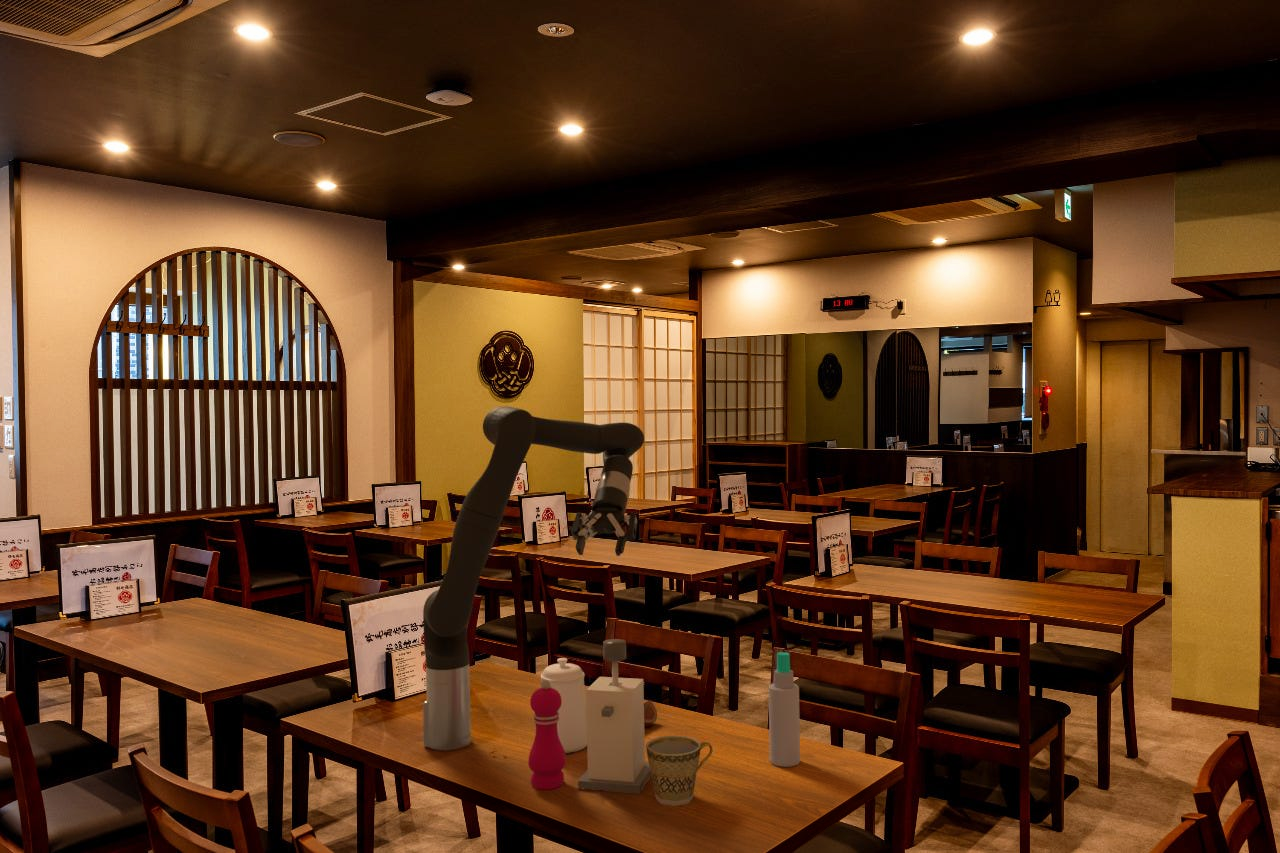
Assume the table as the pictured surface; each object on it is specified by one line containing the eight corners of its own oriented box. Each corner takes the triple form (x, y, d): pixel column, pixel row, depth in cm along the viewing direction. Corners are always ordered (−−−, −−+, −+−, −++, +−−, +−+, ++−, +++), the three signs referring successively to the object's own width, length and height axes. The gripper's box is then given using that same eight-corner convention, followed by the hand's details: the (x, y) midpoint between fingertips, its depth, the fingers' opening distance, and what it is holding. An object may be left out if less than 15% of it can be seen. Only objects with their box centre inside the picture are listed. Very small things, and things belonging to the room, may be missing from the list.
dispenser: (576, 790, 178) (574, 693, 178) (596, 765, 191) (594, 674, 191) (638, 795, 175) (636, 696, 175) (654, 769, 188) (652, 677, 188)
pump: (602, 750, 182) (600, 644, 182) (608, 742, 186) (606, 638, 186) (624, 752, 181) (622, 645, 181) (630, 744, 185) (628, 639, 185)
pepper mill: (551, 793, 177) (549, 687, 177) (521, 786, 181) (518, 682, 181) (573, 780, 183) (571, 677, 183) (544, 773, 187) (542, 673, 187)
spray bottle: (766, 765, 189) (764, 656, 189) (773, 755, 195) (772, 648, 194) (796, 769, 187) (794, 658, 187) (802, 758, 193) (801, 651, 192)
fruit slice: (642, 734, 209) (642, 711, 209) (617, 729, 213) (617, 706, 213) (662, 723, 216) (662, 701, 216) (637, 718, 220) (637, 697, 220)
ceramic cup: (661, 814, 167) (660, 758, 167) (638, 793, 177) (637, 740, 176) (725, 801, 173) (724, 746, 172) (700, 781, 182) (699, 729, 182)
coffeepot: (520, 767, 191) (518, 674, 191) (555, 726, 215) (554, 643, 215) (572, 770, 189) (570, 676, 188) (602, 728, 213) (600, 645, 213)
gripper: (578, 485, 215) (563, 542, 204) (639, 485, 212) (627, 543, 201) (585, 506, 221) (571, 563, 210) (645, 506, 217) (633, 564, 206)
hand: (598, 553), depth 205 cm, fingers open, 8 cm apart
